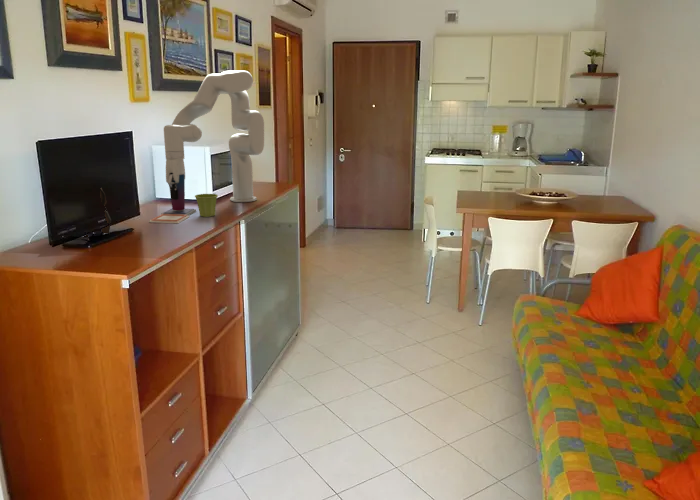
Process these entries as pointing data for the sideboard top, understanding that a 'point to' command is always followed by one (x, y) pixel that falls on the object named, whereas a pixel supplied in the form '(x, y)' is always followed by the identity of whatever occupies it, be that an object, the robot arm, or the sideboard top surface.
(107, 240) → the sideboard top surface
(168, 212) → the ink pad
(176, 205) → the cup
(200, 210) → the plant pot
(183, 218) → the cream flat square piece
